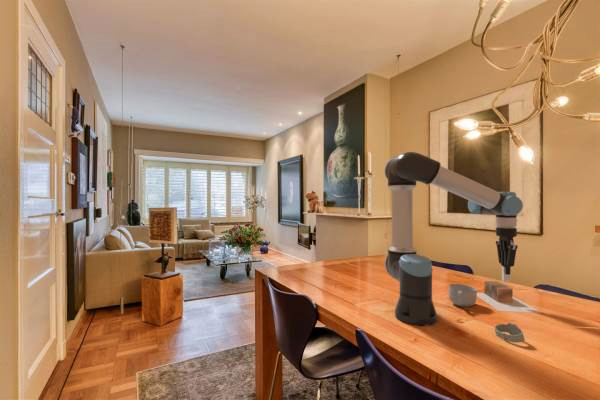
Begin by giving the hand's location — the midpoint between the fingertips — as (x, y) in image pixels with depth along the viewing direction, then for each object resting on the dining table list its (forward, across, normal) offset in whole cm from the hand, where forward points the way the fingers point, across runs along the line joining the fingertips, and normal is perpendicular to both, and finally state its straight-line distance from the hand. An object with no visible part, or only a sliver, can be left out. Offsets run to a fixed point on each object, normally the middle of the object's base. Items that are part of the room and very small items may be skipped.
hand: (506, 281), depth 131 cm
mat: (+10, +2, 0) cm, 10 cm away
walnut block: (+7, +1, 0) cm, 7 cm away
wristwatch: (+10, -35, +17) cm, 40 cm away
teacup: (+10, -5, +20) cm, 23 cm away
